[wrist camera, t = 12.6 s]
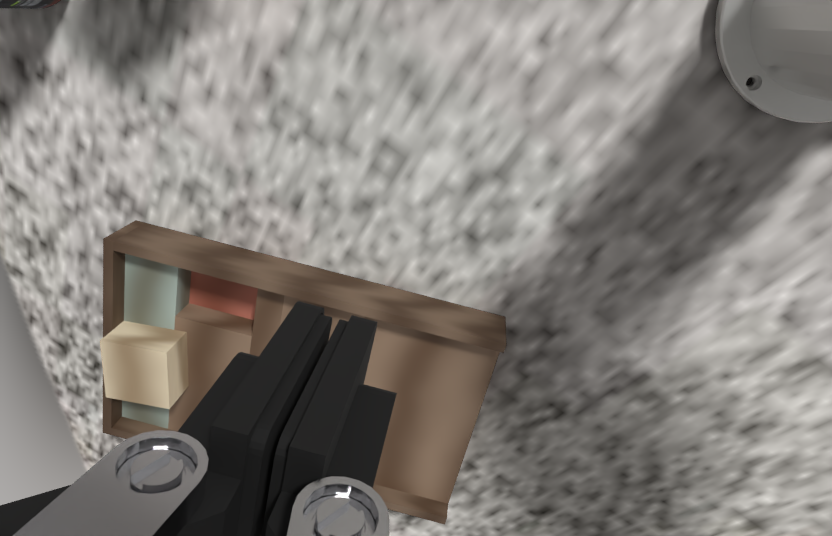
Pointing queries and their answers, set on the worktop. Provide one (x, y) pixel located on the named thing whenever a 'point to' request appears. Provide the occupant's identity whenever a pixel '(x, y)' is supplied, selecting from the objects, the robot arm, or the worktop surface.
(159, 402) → the maple block
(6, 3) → the supplement bottle
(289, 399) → the robot arm
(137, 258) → the box
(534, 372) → the worktop surface
